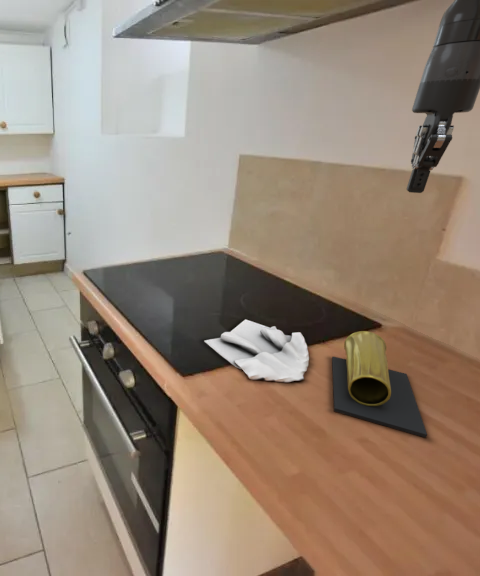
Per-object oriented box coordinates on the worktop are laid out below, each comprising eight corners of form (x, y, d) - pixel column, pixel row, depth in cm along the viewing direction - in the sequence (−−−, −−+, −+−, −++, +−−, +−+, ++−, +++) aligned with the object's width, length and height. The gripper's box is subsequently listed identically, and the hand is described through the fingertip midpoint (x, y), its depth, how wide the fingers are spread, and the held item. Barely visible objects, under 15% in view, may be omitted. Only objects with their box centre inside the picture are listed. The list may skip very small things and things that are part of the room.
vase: (347, 362, 70) (349, 408, 59) (340, 332, 69) (340, 374, 57) (389, 360, 66) (398, 409, 55) (382, 328, 65) (391, 372, 54)
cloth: (249, 390, 61) (252, 378, 60) (189, 326, 81) (191, 316, 80) (354, 373, 66) (358, 362, 65) (273, 316, 85) (275, 307, 84)
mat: (405, 376, 65) (406, 373, 65) (426, 438, 52) (427, 434, 52) (331, 358, 70) (332, 356, 70) (333, 411, 57) (334, 408, 57)
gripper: (499, 73, 52) (452, 199, 59) (469, 82, 63) (432, 188, 70) (430, 76, 56) (393, 195, 62) (413, 84, 66) (383, 185, 73)
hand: (414, 191), depth 66 cm, fingers closed
